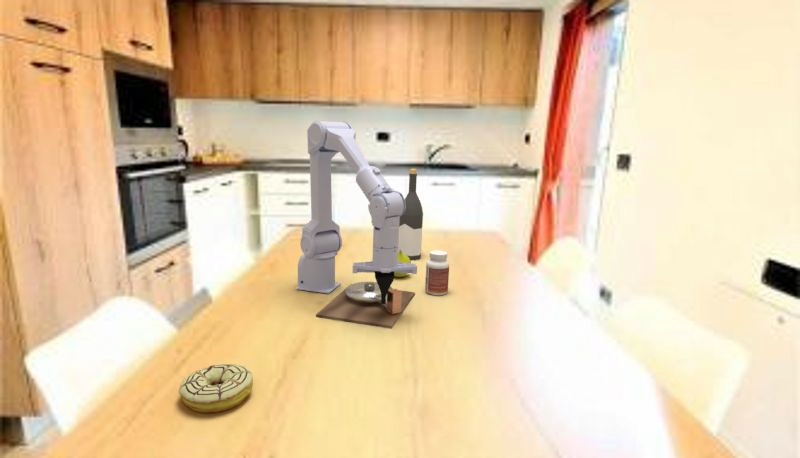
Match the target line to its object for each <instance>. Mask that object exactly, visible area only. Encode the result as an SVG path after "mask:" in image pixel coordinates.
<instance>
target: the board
mask: <svg viewBox="0 0 800 458" xmlns="http://www.w3.org/2000/svg"><path fill="white" fill-rule="evenodd" d="M345 290H346V288H345V289H343V290H342V291H341V292H340V293H339V294H338V295H336V297H334V298H332V299H331V301H329V302H328V304H326V305H325V306H324V307H322V309H320V310H319V311H318V312H317V313H316V314H315V318H321V319H327V320H334V321H340V322H341V321H342V322H349V323H354V324H358V325H366V326H373V327H380V328H385V329H386V328H387V329H392V328H393V327H394V326H395V324H396V323H397V322H398V320H399V319H400V317H401V316H402V314H403V313H404V311H405V310H406V308H407V307H408V305H409V304H410V302H411V301H412V299H413V298H414V296H415V295H416V292H415V291H408V290H401V289H398V290H399V291H401V292H402V297H401V312H399V313H395V314H391V313H390V312H388V311H387V307H385V306H384V305H382V304H380V303H379V302H360V301H355V300H352V299H350V298H348V297H347V296H346V294H345Z"/></svg>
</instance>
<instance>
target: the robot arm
mask: <svg viewBox="0 0 800 458" xmlns="http://www.w3.org/2000/svg"><path fill="white" fill-rule="evenodd" d="M306 132H307V134H306V137H307V154H308V155H309V175H310V177H309V178H310V179H309V180H310V211H311V212H310V213H311V219H310V220H309V221H308V222H307V223H306V224H305V225H304V226H303V227H302V228H301V229H302V231H301V232H302V234H301V237H300V243H299V244H300V250H301V252H302V253H303V254H301V256H300V257H299V259H298V261H297V287H296V290H299V291H300V290H301V291H308V292H315V293H322V294H331V293H332V292H333V291H334V290H336V288H338V287H339V286H340V285H341V282H338V281H337V282H336V256H338V252H339V251H340V250H341V249H342V246H343V238H342V235H341V232H340V231H341V229H340V227H341V226H340V225H339V224H337V222H335V221H334V220H333V211H332V210H333V207H332V205H333V203H332V202H333V200H332V199H333V198H332V197H333V196H332V163H331V162H332V159H334V157H335V156H336V155H337V154H338V153H340V154H341V155H342V156H343V158H344V159H345V160H346V162H347V163H348V164H349V165H350V167H351V168H352V169H353V171H354V172H355V173H356V176H355V182H356V184H357V185H358V187H359V189H361V192H362V193H363V194H364V196H365V197H366V200H367V201H368V202H369V204H368V206H367V207H368V211H369V214H370V217H371V225H372V227H373V230H372V231H373V233H372V235H373V236H372V237H373V238H372V260H371V261H360V262H352V274H358V273H367V274H370V273H374V278H375V282H377V283H378V286H379V288H380V291H381V304H386V295H387V292H388V290H389V287H390V286H391V285H392V283H394V280H395V276H394V273H408V274H412V275H417V274H418V265H417V263H412V262H411V263H402V262H398V243H399V221H400V216H402V215H403V214H404V212H405V209H406V202H405V198H404V195H403V193H402V192H401V191H399V190H395V189H394V188H392V187H391V186H390V184H388V181H387V180H386V178H384V175H382V172H381V169H380V168H378V167H377V166H373V165H370V164H369V162H368V161H367V158H366V157H365V155H364V153H363V152H362V149H361V148H360V145H358V143H357V141H356V135H357V134H356V131H355V129H354V128H353V126H352V124H350V123H349V122H347V121H341V122H340V121H324V120H322V121H321V120H318V119H317V120H313V121H312V123H311V124H310V125H309V126H308V128H307V131H306ZM391 287H392V286H391Z"/></svg>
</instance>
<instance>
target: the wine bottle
mask: <svg viewBox="0 0 800 458" xmlns="http://www.w3.org/2000/svg"><path fill="white" fill-rule="evenodd" d="M408 176H409V177H408V179H409V181H408V193H407V195H406V197H405V198H404V199H405V202H406V209H405V212H404V214H403V215H402V216H400V221H399V243H398V252H399V249H400V248H401V249H402V253H403V254H405V255H407V256H408V257H409V259H410V261H417V260H420V258H421V255H422V242H423V240H422V239H423V222H424V221H423V220H424V212H423V207H422V202H421V200H420V198H419V196H418V194H417V178H418V177H417V176H418V173H417V168H410V169H409V175H408Z"/></svg>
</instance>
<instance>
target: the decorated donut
mask: <svg viewBox="0 0 800 458" xmlns="http://www.w3.org/2000/svg"><path fill="white" fill-rule="evenodd" d="M253 384H254V378H253V373H252V372H251V370H250V369H248V368H247V367H246V366H245V365H239V364H232V363H230V364H225V363H223V364H221V363H220V364H214V365H213V364H212V365H209V366H206V367H203V368H201V369H198V370H196V371H193V372H192V373H191V374H189V375H187V376H185V377H184V378H183V380H182V381H181V383H180V386H179V388H178V394H179V395H180V399H181V401H183V403H184V405H186V406H187V407H188V408H189V409H191V410H193V411H195V412H197V413H201V414H203V413H205V414H207V413H208V414H209V413H211V414H213V413H219V412H223V411H228V410H231V409H233V408H234V407H235V406H238V405H240V404H242V402H243V401H244V400H245V399H246V398H247V397H249V395H250V393H251V391H252V389H253Z"/></svg>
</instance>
